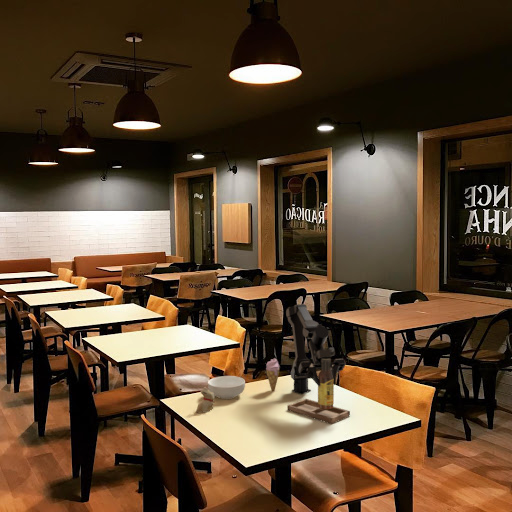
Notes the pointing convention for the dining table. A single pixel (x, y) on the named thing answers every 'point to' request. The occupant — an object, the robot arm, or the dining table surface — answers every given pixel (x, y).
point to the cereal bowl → (226, 386)
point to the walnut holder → (318, 411)
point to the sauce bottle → (325, 385)
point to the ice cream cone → (272, 373)
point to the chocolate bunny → (206, 401)
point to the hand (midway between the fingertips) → (327, 385)
